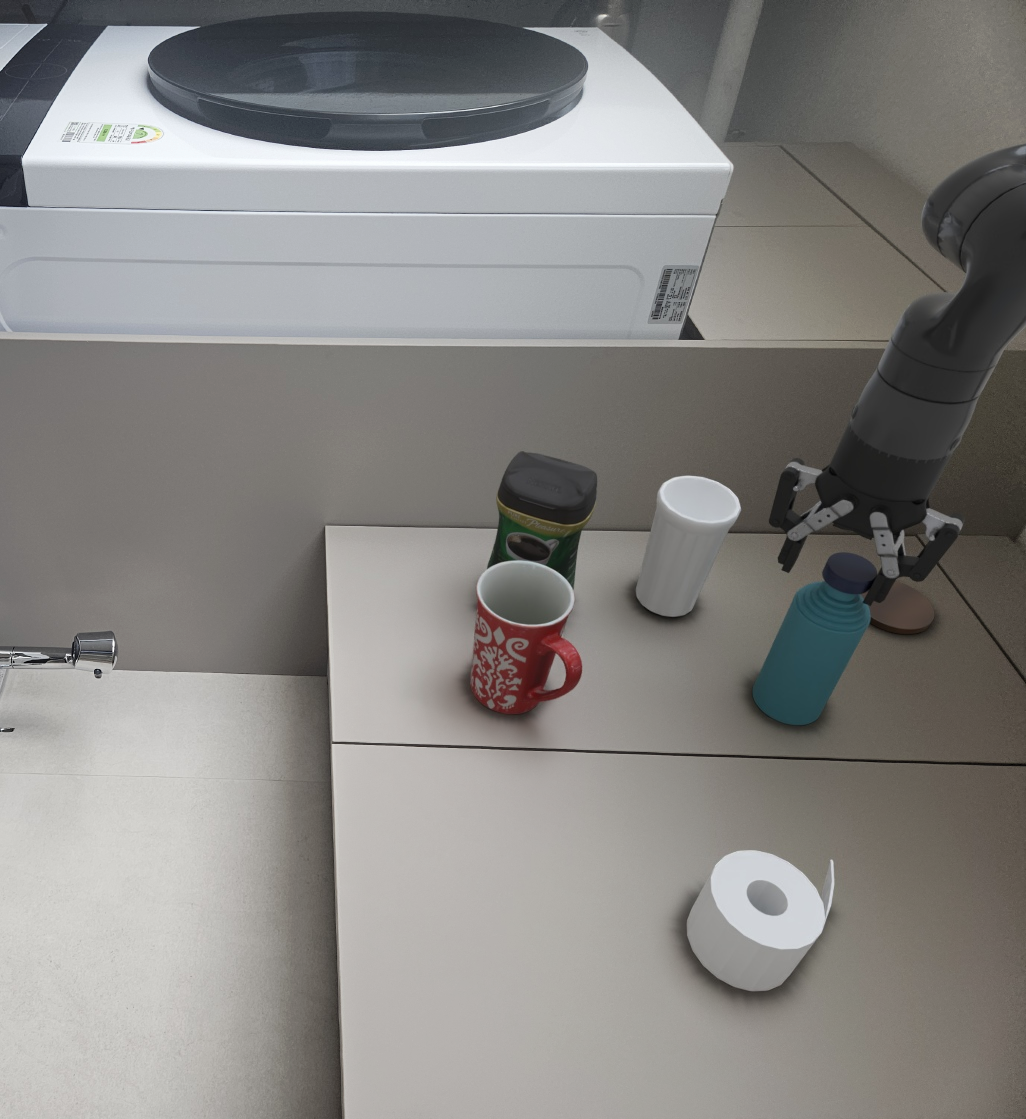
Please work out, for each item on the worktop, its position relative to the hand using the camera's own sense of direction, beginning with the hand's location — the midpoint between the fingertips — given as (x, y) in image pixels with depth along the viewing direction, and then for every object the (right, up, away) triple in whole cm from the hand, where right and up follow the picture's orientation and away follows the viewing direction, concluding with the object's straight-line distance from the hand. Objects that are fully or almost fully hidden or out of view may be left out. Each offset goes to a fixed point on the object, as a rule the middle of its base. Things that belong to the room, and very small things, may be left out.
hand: (827, 582), depth 87 cm
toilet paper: (-10, -29, -8) cm, 32 cm away
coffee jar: (-22, -3, +21) cm, 31 cm away
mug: (-26, -12, +11) cm, 30 cm away
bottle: (+1, -12, +10) cm, 16 cm away
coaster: (+18, -3, +19) cm, 26 cm away
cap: (+1, +1, -2) cm, 3 cm away
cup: (-7, -2, +21) cm, 22 cm away
